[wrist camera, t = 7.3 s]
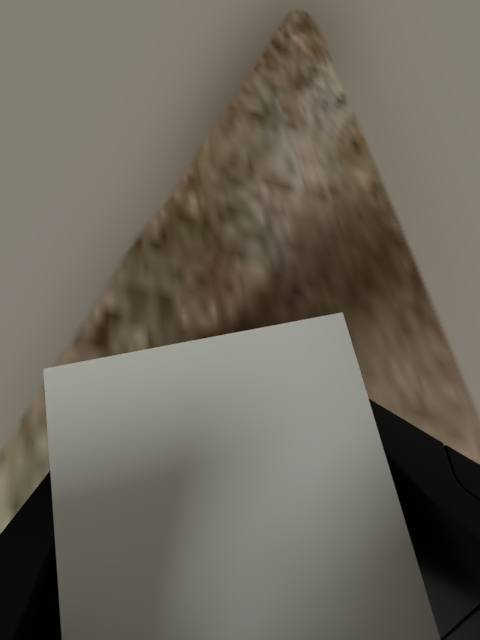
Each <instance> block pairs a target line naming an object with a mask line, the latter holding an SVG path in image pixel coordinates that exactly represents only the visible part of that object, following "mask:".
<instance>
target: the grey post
mask: <svg viewBox="0 0 480 640" xmlns="http://www.w3.org/2000/svg"><path fill="white" fill-rule="evenodd" d="M43 371H44V386H45V400H46V415H47V430H48V445H49V460H50V474H51V489H52V504H53V519H54V534H55V548H56V563H57V578H58V593H59V608H60V622H61V637H62V640H441V639H440V636H439V633H438V629H437V626H436V623H435V619H434V616H433V613H432V609H431V606H430V603H429V599H428V596H427V593H426V589H425V586H424V583H423V579H422V576H421V573H420V569H419V566H418V562H417V559H416V556H415V552H414V549H413V546H412V542H411V539H410V536H409V532H408V529H407V526H406V522H405V519H404V516H403V512H402V509H401V506H400V502H399V499H398V496H397V492H396V489H395V486H394V482H393V479H392V476H391V472H390V469H389V465H388V462H387V459H386V455H385V452H384V449H383V445H382V442H381V439H380V435H379V432H378V429H377V425H376V422H375V419H374V415H373V412H372V409H371V405H370V402H369V399H368V395H367V392H366V389H365V385H364V382H363V379H362V375H361V372H360V368H359V365H358V362H357V358H356V355H355V352H354V348H353V345H352V342H351V338H350V335H349V332H348V328H347V325H346V322H345V318H344V315H343V312H341V313H336V314H331V315H326V316H320V317H315V318H310V319H304V320H299V321H294V322H289V323H283V324H278V325H273V326H268V327H262V328H257V329H252V330H246V331H241V332H236V333H231V334H225V335H220V336H215V337H209V338H204V339H199V340H194V341H188V342H183V343H178V344H173V345H167V346H162V347H157V348H151V349H146V350H141V351H136V352H130V353H125V354H120V355H114V356H109V357H104V358H99V359H93V360H88V361H83V362H78V363H72V364H67V365H62V366H56V367H51V368H46V369H44V370H43Z"/></svg>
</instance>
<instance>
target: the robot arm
mask: <svg viewBox="0 0 480 640" xmlns="http://www.w3.org/2000/svg"><path fill="white" fill-rule="evenodd" d="M369 402H370V405H371V409H372V412H373V415H374V419H375V422H376V425H377V429H378V432H379V435H380V439H381V442H382V445H383V449H384V452H385V455H386V459H387V462H388V465H389V469H390V472H391V476H392V479H393V482H394V486H395V489H396V492H397V496H398V499H399V502H400V506H401V509H402V512H403V516H404V519H405V522H406V526H407V529H408V532H409V536H410V539H411V542H412V546H413V549H414V552H415V556H416V559H417V562H418V566H419V569H420V573H421V576H422V579H423V583H424V586H425V589H426V593H427V596H428V599H429V603H430V606H431V609H432V613H433V616H434V619H435V623H436V626H437V629H438V633H439V636H440V639H441V640H480V464H478V463H476V462H474V461H473V460H471V459H469V458H467V457H466V456H464V455H462V454H461V453H459V452H457V451H456V450H454V449H452V448H451V447H449V446H447V445H445V446H444V444H443V443H442V442H440V441H439V440H437V439H435V438H434V437H432V436H430V435H429V434H427V433H425V432H424V431H422V430H420V429H419V428H417V427H415V426H414V425H412V424H410V423H409V422H407V421H405V420H404V419H402V418H400V417H398V416H397V415H395V414H393V413H392V412H390V411H388V410H387V409H385V408H383V407H382V406H380V405H378V404H377V403H375V402H373V401H372V400H370V399H369ZM0 640H62V637H61V622H60V608H59V593H58V578H57V563H56V548H55V534H54V519H53V504H52V489H51V474H50V471H49V473H48V474H47V475H46V477H45V478H44V479H43V480H42V482H41V483H40V484H39V486H38V487H37V488H36V489H35V491H34V492H33V493H32V494H31V496H30V497H29V498H28V500H27V501H26V502H25V503H24V505H23V506H22V507H21V509H20V510H19V511H18V512H17V514H16V515H15V516H14V518H13V519H12V520H11V521H10V523H9V524H8V525H7V527H6V528H5V529H4V530H3V532H2V533H1V534H0Z"/></svg>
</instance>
